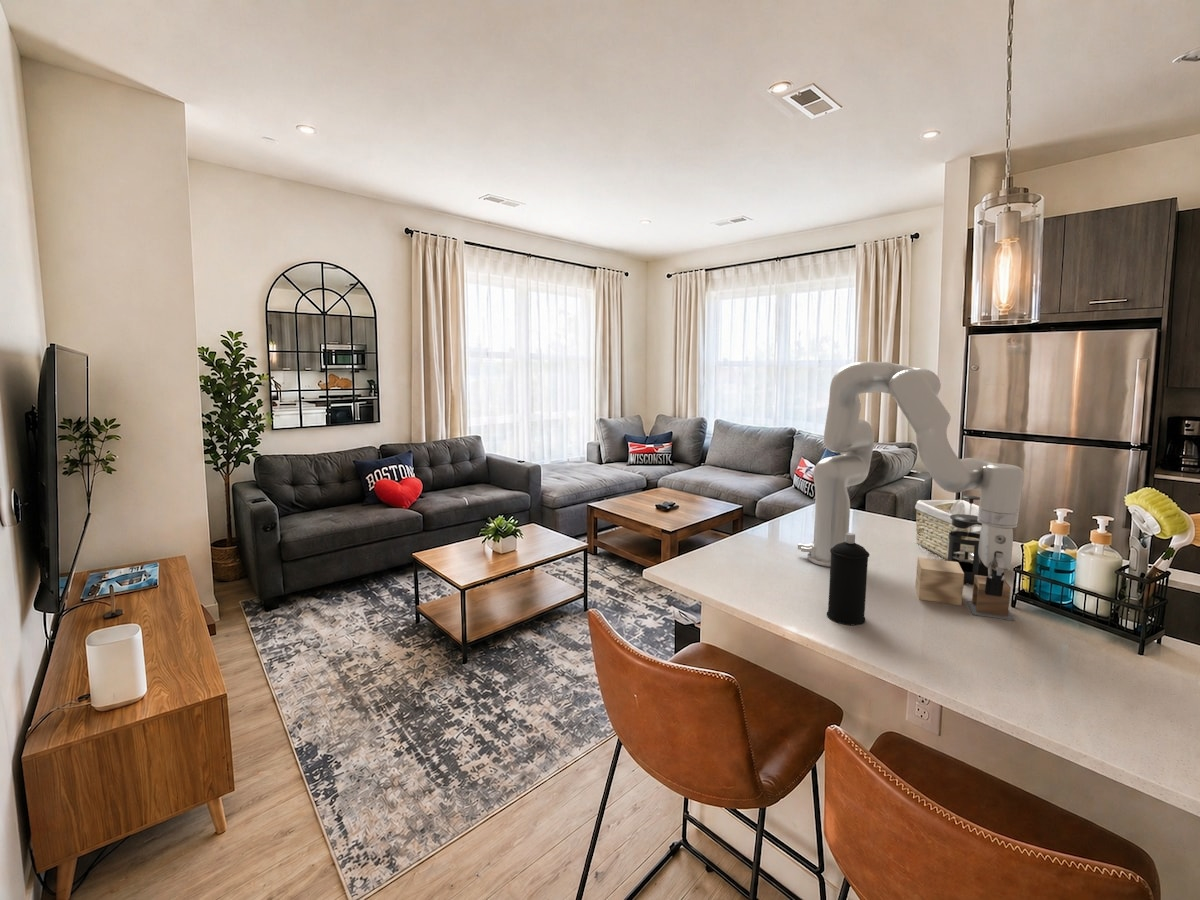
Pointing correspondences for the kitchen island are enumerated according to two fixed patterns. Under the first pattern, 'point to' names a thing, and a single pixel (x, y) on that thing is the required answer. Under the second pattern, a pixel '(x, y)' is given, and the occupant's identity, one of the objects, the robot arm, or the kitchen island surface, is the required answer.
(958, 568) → the plinth
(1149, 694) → the kitchen island surface
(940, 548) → the storage basket
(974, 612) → the coaster
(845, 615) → the aerosol can
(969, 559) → the french press
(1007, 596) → the u-shaped wooden block
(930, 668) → the kitchen island surface
